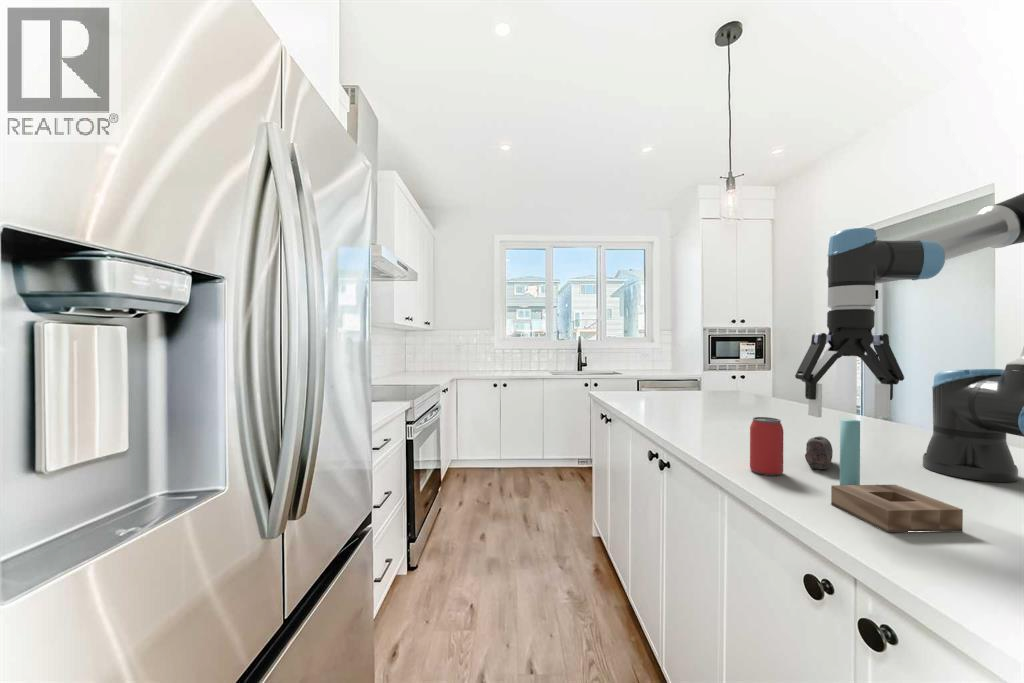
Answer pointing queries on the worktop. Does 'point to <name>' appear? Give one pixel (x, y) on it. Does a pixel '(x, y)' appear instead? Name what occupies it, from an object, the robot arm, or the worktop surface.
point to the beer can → (766, 446)
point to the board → (896, 508)
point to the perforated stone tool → (819, 452)
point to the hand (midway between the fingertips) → (848, 416)
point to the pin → (849, 452)
